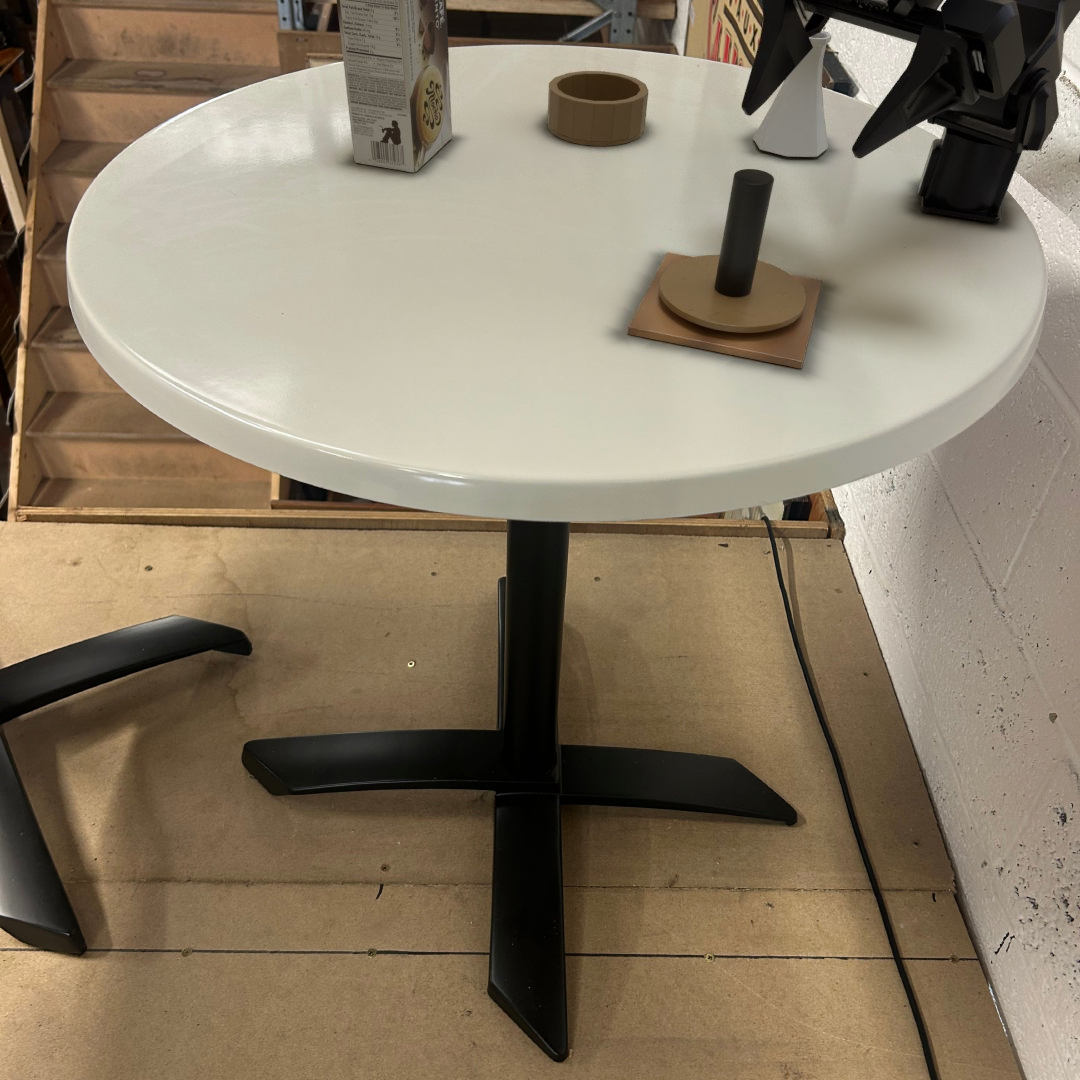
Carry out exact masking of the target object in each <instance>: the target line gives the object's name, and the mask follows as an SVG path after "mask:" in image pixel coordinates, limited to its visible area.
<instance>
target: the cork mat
mask: <svg viewBox="0 0 1080 1080" xmlns="http://www.w3.org/2000/svg"><path fill="white" fill-rule="evenodd" d="M692 257H693V256H690V255H684V254H678V253H672V252H666V254H665V255H664V257H663V260H662V261H661V263H660V265H659V267H658V269H657V270H656V273H655V275H654V277H653V279H652V280H651V283H650V284H649V286H648V288H647V290H646V292H645V294H644V296H643V298H642V299H641V301H640V304H639V306H638V307H637V310H636V311H635V313H634V315H633V317H632V319H631V321H630V323H629V325H628V326H627V335H631V336H635V337H640V338H645V339H651V340H655V341H660V342H665V343H670V344H675V345H676V344H677V345H680V346H685V347H690V348H695V349H700V350H705V351H710V352H716V353H720V354H726V355H731V356H735V357H741V358H746V359H751V360H755V361H761V362H765V363H771V364H776V365H779V366H780V365H781V366H785V367H789V368H790V367H791V368H794V369H802V368H803V364H804V360H805V356H806V352H807V348H808V343H809V339H810V337H811V336H810V335H811V331H812V326H813V323H814V318H815V314H816V311H817V310H816V309H817V306H818V302H819V297H820V293H821V290H822V289H821V288H822V284H823V280H822V279H818V278H813V277H807V276H802V275H801V276H800V275H795V274H790V273H789V274H790V275H792V276H793V277H794V278H795V279H796V280H798V282H799V283H800V284H801V285H802V287H803V288H804V290H805V293H806V305H805V309H804V311H803V313H802V314H801V316H800V317H799V318H798V319H797V320H795V321H794V322H792V323H791V324H789V325H787V326H784V327H782V328H779V329H775V330H771V331H766V332H756V333H737V332H727V331H721V330H715V329H711V328H707V327H704V326H701V325H698V324H695V323H693V322H690V321H688V320H686V319H684V318H682V317H680V316H679V315H677V314H676V313H674V312H673V311H672V310H671V309H669V308H668V307H667V306H666V305H665V303H664V302H663V300H662V299H661V296H660V294H659V284H660V278H661V276H662V274H663V273H664V271H665V270H666V269H668V268H669V267H670V266H672V265H673V264H675V263H677V262H679V261H682V260H685V259H688V258H692Z"/></svg>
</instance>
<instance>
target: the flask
mask: <svg viewBox="0 0 1080 1080" xmlns="http://www.w3.org/2000/svg"><path fill="white" fill-rule="evenodd" d="M832 37H833V35H831V34H830V32H829V31H826V30H822V31H821V32H820V33H818V34H816V35H813V36H811V37H809V39H810V41H811V44H812V46H813V48H812V50H811V51H810V52H809V53H808V54H807V55H806V56H805V58H804V59H803V60H802V61H801V62H800V63H799V64H798V66H797V67H796V68H795V69H794V70H793V71H792V72H791V73H790V75H789V76H788V77H787V78H786V79H785V80H784V81H783V83H782V84H781V85H780V87H779V90H778V92H777V94H776V96H775V98H774V100H773V102H772V104H771V105H770V107H769V109H768V110H767V112H766V114H765V116H764V118H763V120H762V121H761V123H760V124H759V127H758V129H757V130H756V132H755V134H754V135H753V141H754V142H755V144H756V145H757V147H758V149H759V150H761V151H764V152H768V153H772V154H775V155H776V154H777V155H780V156H783V157H790V158H791V157H794V158H795V157H797V158H798V157H803V158H818V157H819V156H820V155H821V154H822V153H824V152H825V151H826V150H827V149H828V148H829V147H828V145H829V144H828V135H827V134H828V133H827V126H826V125H827V124H826V118H825V106H824V91H823V68H824V67H823V66H824V57H825V52H826V48H827V46H828V44H829V43H830V42H831V39H832Z"/></svg>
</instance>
